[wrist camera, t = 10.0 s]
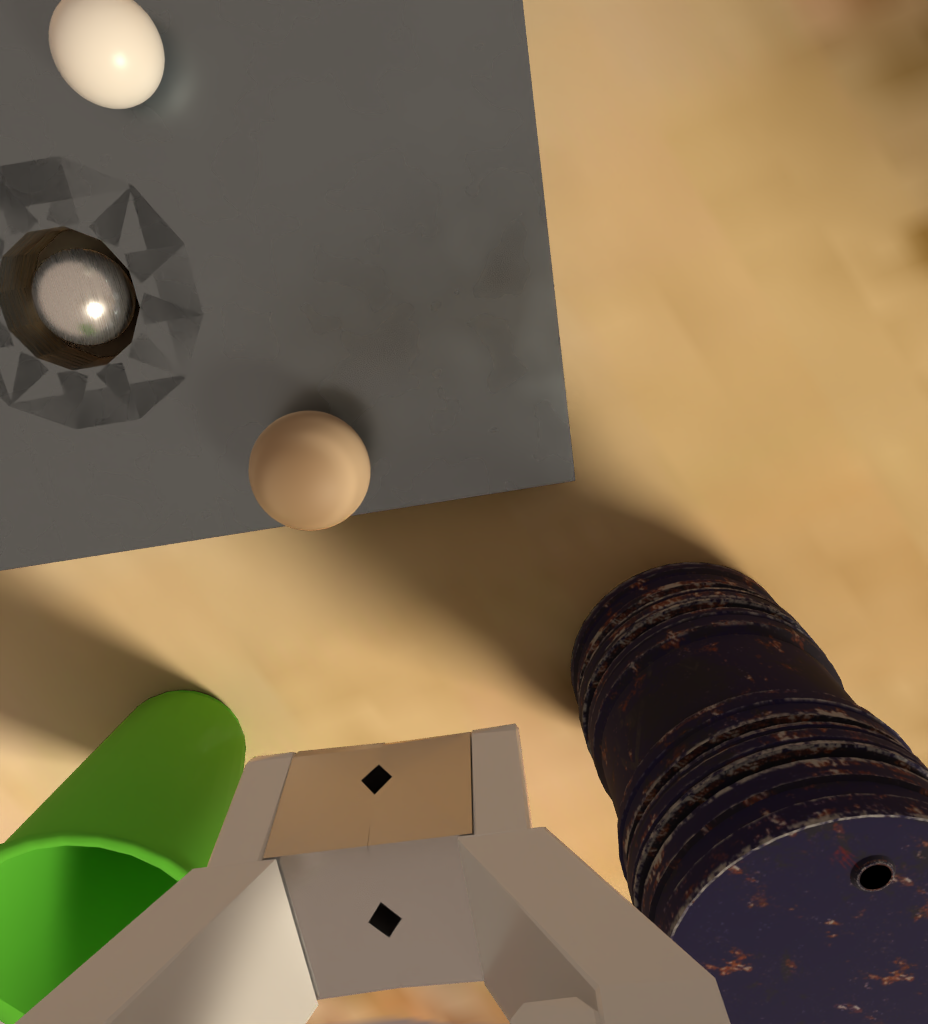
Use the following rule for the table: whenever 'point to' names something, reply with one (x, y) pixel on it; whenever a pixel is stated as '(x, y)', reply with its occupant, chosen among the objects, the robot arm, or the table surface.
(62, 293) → the steel ball
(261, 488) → the wood ball
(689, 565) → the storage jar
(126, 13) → the plastic ball
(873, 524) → the table surface
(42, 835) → the cup
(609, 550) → the table surface
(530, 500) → the table surface
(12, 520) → the plate
